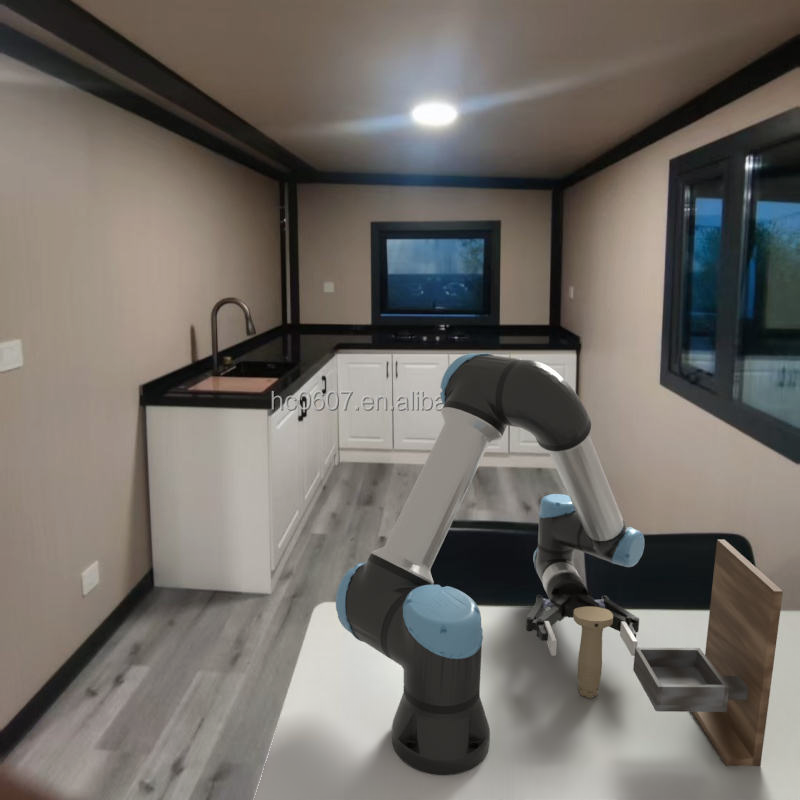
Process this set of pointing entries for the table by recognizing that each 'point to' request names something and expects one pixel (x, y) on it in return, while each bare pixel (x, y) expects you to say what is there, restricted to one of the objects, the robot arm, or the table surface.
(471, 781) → the table surface
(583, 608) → the handle
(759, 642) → the bracket
